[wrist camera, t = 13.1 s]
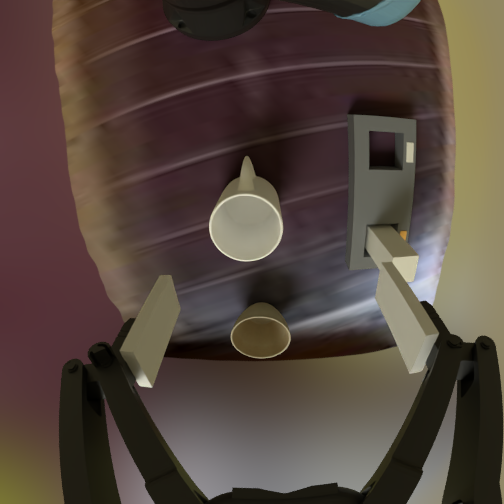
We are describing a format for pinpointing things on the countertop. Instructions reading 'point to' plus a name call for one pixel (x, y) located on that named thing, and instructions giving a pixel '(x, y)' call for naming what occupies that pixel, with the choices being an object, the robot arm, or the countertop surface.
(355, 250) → the panel
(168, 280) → the robot arm
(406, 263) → the plug
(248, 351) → the flower pot
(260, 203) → the mug
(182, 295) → the countertop surface
